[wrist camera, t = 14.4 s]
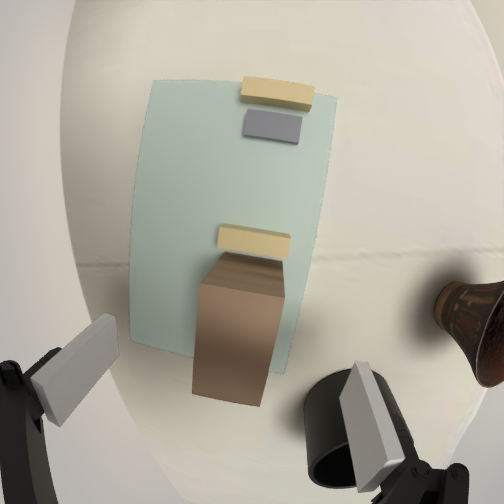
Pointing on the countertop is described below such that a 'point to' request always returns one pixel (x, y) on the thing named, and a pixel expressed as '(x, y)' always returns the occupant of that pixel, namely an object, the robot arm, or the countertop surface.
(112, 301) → the countertop surface
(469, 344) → the cup
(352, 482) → the mug
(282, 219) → the wall board
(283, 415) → the countertop surface
